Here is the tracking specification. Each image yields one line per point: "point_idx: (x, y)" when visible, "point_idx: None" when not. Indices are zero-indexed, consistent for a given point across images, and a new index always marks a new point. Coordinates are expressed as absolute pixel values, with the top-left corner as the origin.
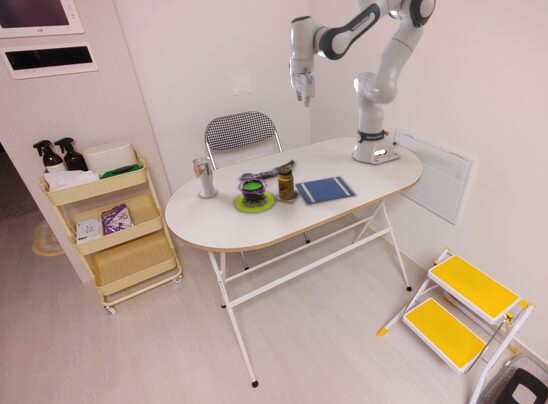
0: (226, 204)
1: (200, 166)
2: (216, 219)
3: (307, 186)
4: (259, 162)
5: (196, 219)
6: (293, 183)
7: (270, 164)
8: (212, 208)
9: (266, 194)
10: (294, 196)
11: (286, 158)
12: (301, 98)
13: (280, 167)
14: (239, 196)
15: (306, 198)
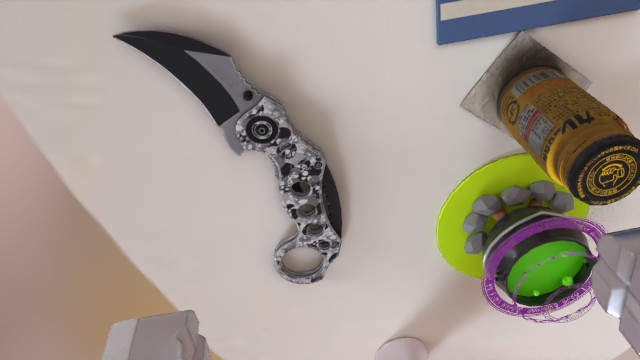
0: (491, 300)
1: None
2: (566, 313)
3: None
4: (136, 215)
5: (540, 355)
6: (592, 98)
7: (165, 163)
8: (498, 331)
9: (483, 182)
10: (546, 64)
11: (74, 69)
12: (185, 350)
13: (245, 121)
14: (460, 271)
15: (597, 8)
